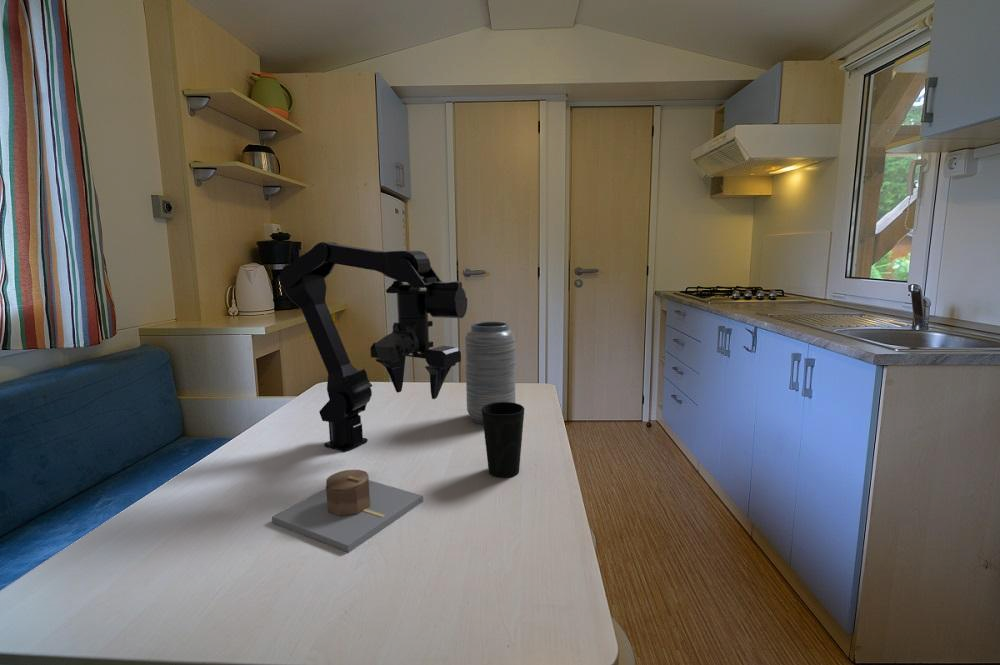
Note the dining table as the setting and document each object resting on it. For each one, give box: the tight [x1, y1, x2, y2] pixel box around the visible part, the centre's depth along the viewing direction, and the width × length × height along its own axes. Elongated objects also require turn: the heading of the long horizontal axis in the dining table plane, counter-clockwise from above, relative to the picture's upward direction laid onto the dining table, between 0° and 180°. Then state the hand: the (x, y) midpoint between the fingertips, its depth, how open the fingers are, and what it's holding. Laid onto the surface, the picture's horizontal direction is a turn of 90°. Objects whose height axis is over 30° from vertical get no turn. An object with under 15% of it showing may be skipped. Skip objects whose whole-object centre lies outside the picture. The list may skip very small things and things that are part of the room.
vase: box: [464, 321, 517, 425], centre depth 120 cm, size 12×12×23 cm
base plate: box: [271, 479, 424, 553], centre depth 79 cm, size 16×16×4 cm
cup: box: [482, 402, 525, 479], centre depth 92 cm, size 8×8×12 cm
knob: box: [325, 469, 370, 516], centre depth 79 cm, size 6×6×5 cm
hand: (416, 395), depth 100 cm, fingers open, 9 cm apart
